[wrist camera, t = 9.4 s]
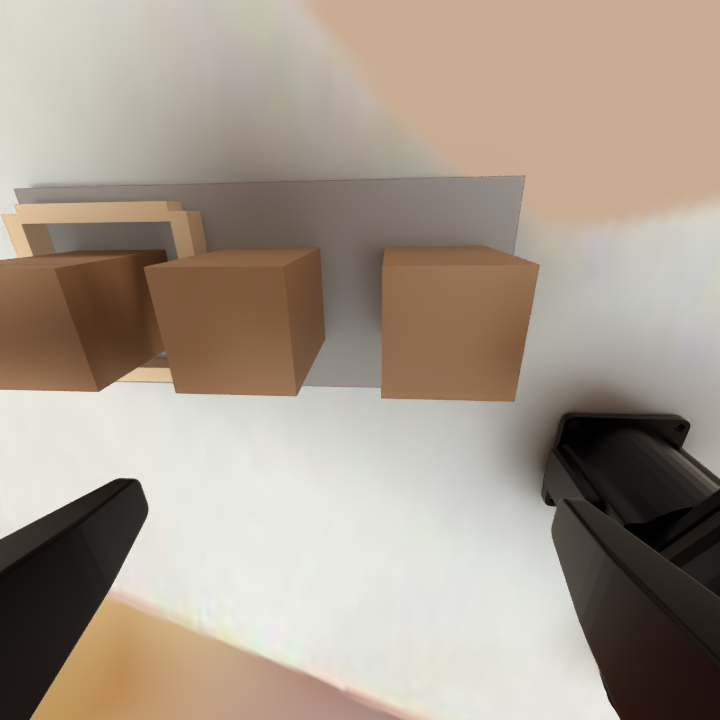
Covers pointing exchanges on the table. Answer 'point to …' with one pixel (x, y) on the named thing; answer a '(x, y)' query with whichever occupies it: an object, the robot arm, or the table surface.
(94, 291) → the walnut block
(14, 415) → the table surface
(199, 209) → the holder
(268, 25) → the table surface
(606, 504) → the robot arm
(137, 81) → the table surface
